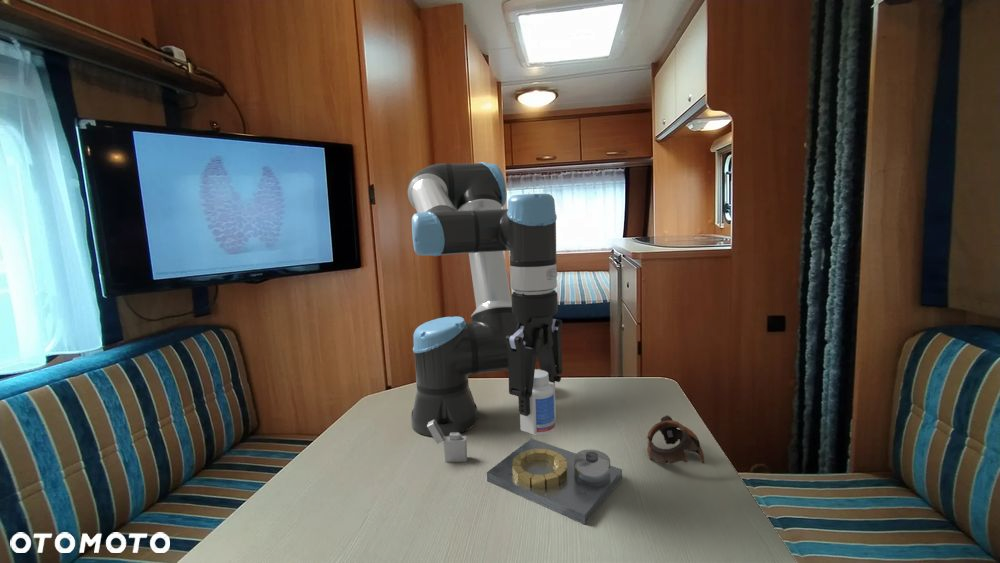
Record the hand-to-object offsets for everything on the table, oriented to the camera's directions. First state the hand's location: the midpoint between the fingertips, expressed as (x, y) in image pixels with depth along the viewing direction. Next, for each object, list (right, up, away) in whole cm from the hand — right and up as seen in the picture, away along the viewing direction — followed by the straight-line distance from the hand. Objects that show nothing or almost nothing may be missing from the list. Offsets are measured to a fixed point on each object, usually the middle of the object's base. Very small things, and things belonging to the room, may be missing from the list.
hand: (538, 423), depth 74 cm
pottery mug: (+26, -9, +7) cm, 28 cm away
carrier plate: (+3, -10, +2) cm, 11 cm away
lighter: (-17, -10, +9) cm, 22 cm away
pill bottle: (0, -1, 0) cm, 1 cm away
